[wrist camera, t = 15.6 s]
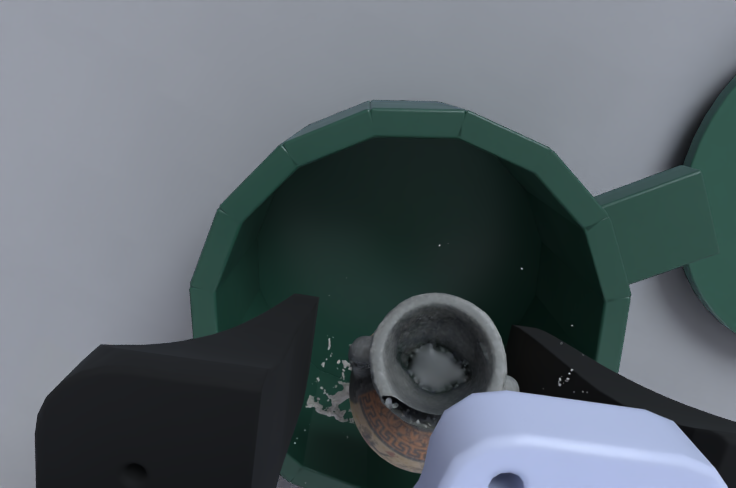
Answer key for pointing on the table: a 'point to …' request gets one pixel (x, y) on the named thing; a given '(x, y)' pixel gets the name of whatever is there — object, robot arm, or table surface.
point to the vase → (418, 373)
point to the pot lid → (718, 206)
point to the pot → (432, 249)
